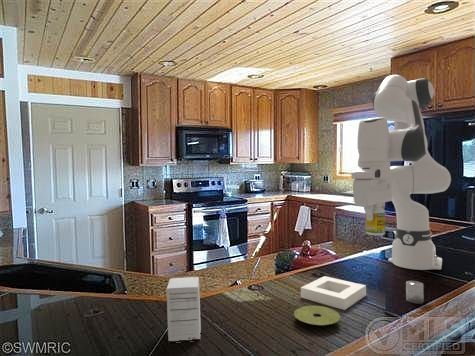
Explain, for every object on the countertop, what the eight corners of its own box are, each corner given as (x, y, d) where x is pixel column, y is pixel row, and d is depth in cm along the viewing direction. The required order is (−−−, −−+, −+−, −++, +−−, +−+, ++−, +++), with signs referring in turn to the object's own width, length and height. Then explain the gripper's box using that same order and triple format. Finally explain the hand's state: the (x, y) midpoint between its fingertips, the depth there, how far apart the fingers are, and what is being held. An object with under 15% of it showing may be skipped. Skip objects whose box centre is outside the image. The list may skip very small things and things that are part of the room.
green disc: (286, 317, 86) (286, 309, 86) (322, 309, 90) (322, 302, 90) (310, 336, 75) (310, 328, 75) (350, 327, 79) (350, 319, 79)
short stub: (409, 296, 97) (408, 279, 97) (425, 300, 94) (425, 282, 94) (404, 300, 94) (403, 283, 94) (421, 304, 91) (420, 287, 91)
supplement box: (171, 328, 81) (169, 277, 81) (201, 326, 82) (199, 276, 82) (167, 343, 74) (165, 288, 74) (200, 341, 74) (198, 286, 74)
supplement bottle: (372, 231, 100) (372, 200, 100) (389, 234, 96) (388, 201, 96) (361, 233, 97) (361, 201, 97) (378, 236, 93) (377, 202, 93)
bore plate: (324, 285, 109) (324, 276, 109) (366, 295, 99) (366, 285, 99) (300, 297, 99) (300, 287, 99) (344, 310, 89) (344, 299, 89)
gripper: (376, 171, 106) (377, 214, 106) (348, 173, 91) (349, 222, 92) (397, 171, 102) (398, 215, 102) (371, 172, 87) (372, 224, 87)
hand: (375, 219), depth 97 cm, fingers closed on supplement bottle, 5 cm apart
